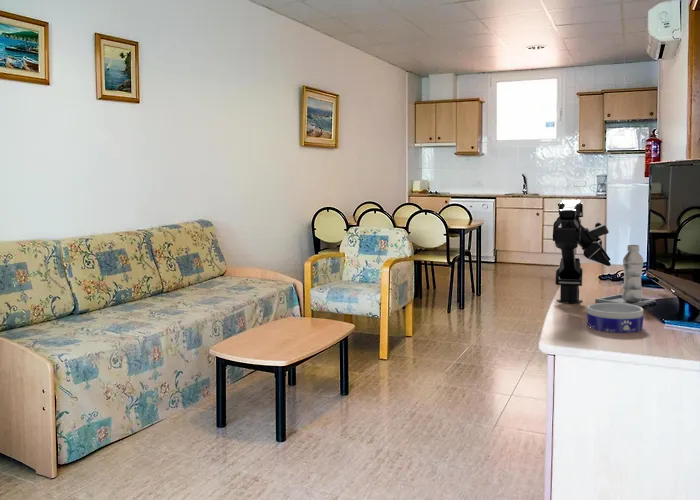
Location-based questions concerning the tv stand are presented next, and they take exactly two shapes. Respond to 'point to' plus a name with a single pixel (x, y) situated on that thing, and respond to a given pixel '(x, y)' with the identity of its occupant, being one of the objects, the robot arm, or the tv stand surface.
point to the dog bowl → (615, 317)
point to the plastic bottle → (632, 275)
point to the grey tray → (619, 299)
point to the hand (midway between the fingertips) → (609, 262)
